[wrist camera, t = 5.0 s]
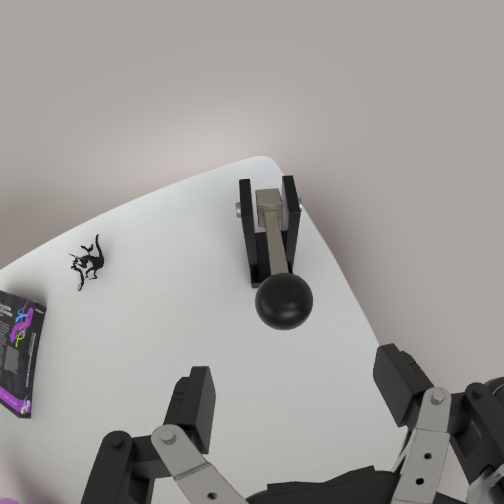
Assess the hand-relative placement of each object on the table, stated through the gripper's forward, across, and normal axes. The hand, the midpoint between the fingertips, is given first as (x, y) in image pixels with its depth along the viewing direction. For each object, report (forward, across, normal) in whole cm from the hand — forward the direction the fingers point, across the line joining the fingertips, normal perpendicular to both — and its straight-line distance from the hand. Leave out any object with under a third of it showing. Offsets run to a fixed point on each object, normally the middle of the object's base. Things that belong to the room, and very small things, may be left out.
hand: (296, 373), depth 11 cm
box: (+14, +43, +12) cm, 47 cm away
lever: (+11, 0, -2) cm, 11 cm away
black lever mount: (+23, 0, +2) cm, 24 cm away
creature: (+24, +27, +2) cm, 36 cm away
